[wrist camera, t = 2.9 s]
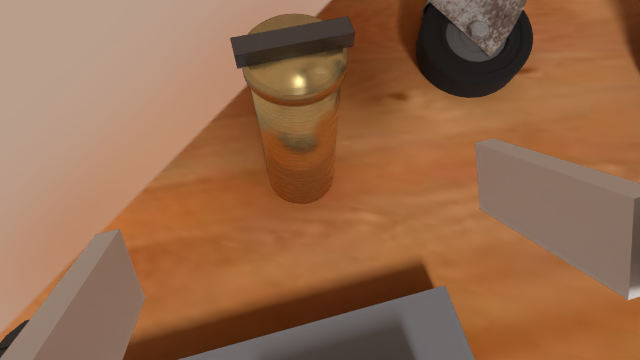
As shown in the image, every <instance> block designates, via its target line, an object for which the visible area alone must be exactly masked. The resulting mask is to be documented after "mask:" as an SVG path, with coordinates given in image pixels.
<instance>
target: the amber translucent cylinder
mask: <svg viewBox="0 0 640 360" xmlns="http://www.w3.org/2000/svg"><path fill="white" fill-rule="evenodd" d="M354 35H355V32H354V29H353V27H352V25H351V22H350V20H349V17H348V16H347V17H341V18H336V19H331V20H325V21H323V20H321V19H319V18H316V17H313V16H309V15H304V14H285V15H280V16H276V17H273V18H270V19H268V20H266V21H264V22H262V23H260V24H259V25H257V26H256V27H255V28H254V29H252V30H251V31H250V32H249V34H248V35H243V36H238V37H233V38H230V39H231V43H232V48H233V52H234V56H235V61H236V65H237V68H242V70H243V75H244V78H245V80H246V82H247V84H248V86H249V87H250V88H251V91H252V96H253V101H254V105H255V110H256V115H257V120H258V124H259V129H260V134H261V138H262V143H263V148H264V153H265V157H266V162H267V167H268V172H269V176H270V181H271V185H272V187H273V189H274V191H275V192H276V193H277V194H278V195H279V196H280V197H281V198H283V199H284V200H286V201H288V202H291V203H296V204H306V203H311V202H314V201H316V200H318V199H320V198H321V197H323V196H324V195H325V194H326V193H327V191H328V190H329V188H330V187H331V184H332V180H333V171H334V159H335V147H336V135H337V123H338V111H339V99H340V87H341V83H342V81H343V79H344V77H345V74H346V67H347V56H348V52H347V47H352V46H353V44H354Z"/></svg>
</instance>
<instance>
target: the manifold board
mask: <svg viewBox="0 0 640 360" xmlns="http://www.w3.org/2000/svg"><path fill="white" fill-rule="evenodd" d="M179 360H475V359H474V356H473V354H472V351H471V349H470V346H469V344H468V341H467V339H466V336H465V334H464V331H463V329H462V326H461V324H460V322H459V319H458V317H457V314H456V312H455V309H454V307H453V304H452V302H451V299H450V297H449V294H448V292H447V289H446V287H445V285H444V286H441V287H437V288H434V289H430V290H426V291H423V292H419V293H416V294H412V295H408V296H405V297H401V298H398V299H394V300H390V301H387V302H383V303H380V304H376V305H373V306H369V307H365V308H362V309H358V310H355V311H351V312H347V313H344V314H340V315H337V316H333V317H329V318H326V319H322V320H319V321H315V322H311V323H308V324H304V325H301V326H297V327H294V328H290V329H286V330H283V331H279V332H276V333H272V334H268V335H265V336H261V337H258V338H254V339H250V340H247V341H243V342H240V343H236V344H232V345H229V346H225V347H222V348H218V349H214V350H211V351H207V352H204V353H200V354H197V355H193V356H189V357H186V358H182V359H179Z"/></svg>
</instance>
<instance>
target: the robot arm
mask: <svg viewBox="0 0 640 360" xmlns="http://www.w3.org/2000/svg"><path fill="white" fill-rule="evenodd" d="M475 147H476V162H477V176H478V191H479V206H480V210H482V211H484V212H485V213H487V214H489V215H490V216H492V217H493V218H495V219H497V220H498V221H500V222H502V223H503V224H505V225H507V226H508V227H510V228H511V229H513V230H515V231H516V232H518V233H520V234H521V235H523V236H525V237H526V238H528V239H529V240H531V241H533V242H534V243H536V244H538V245H539V246H541V247H543V248H544V249H546V250H547V251H549V252H551V253H552V254H554V255H556V256H557V257H559V258H560V259H562V260H564V261H565V262H567V263H569V264H570V265H572V266H574V267H575V268H577V269H578V270H580V271H582V272H583V273H585V274H587V275H588V276H590V277H592V278H593V279H595V280H596V281H598V282H600V283H601V284H603V285H605V286H606V287H608V288H609V289H611V290H613V291H614V292H616V293H618V294H619V295H621V296H623V297H624V298H626V299H627V300H630V299H633V298H636V297H640V184H639V183H636V182H633V181H630V180H627V179H623V178H620V177H617V176H614V175H610V174H607V173H604V172H601V171H597V170H594V169H591V168H588V167H584V166H581V165H578V164H575V163H571V162H568V161H565V160H562V159H559V158H555V157H552V156H549V155H546V154H542V153H539V152H536V151H533V150H529V149H526V148H523V147H520V146H516V145H513V144H510V143H507V142H503V141H500V140H497V139H494V138H493V139H489V140H485V141H481V142H477V143H475ZM144 300H145V296H144V294H143V291H142V288H141V285H140V283H139V280H138V277H137V275H136V272H135V269H134V267H133V264H132V261H131V259H130V256H129V253H128V250H127V248H126V245H125V242H124V240H123V237H122V234H121V232H120V229H117V230H113V231H109V232H105V233H101V234H96V235H95V237H94V238H93V239H92V240H91V242H90V243H89V244H88V246H87V247H86V248H85V249H84V251H83V252H82V253H81V255H80V256H79V257H78V258H77V260H76V261H75V262H74V264H73V265H72V266H71V267H70V269H69V270H68V271H67V273H66V274H65V275H64V277H63V278H62V279H61V280H60V282H59V283H58V284H57V286H56V287H55V288H54V289H53V291H52V292H51V293H50V295H49V296H48V297H47V298H46V300H45V301H44V302H43V304H42V305H41V306H40V308H39V309H38V310H37V311H36V313H35V314H34V315H33V317H32V318H31V319H30V320H27V321H24V322H23V323H22V324H20V325H19V326H18V327H17V328H15V329H14V330H13V331H11V332H10V333H9V334H8V335H6V337H5V338H4V339H3V340H2V341H1V343H0V360H123V357H124V354H125V352H126V349H127V346H128V344H129V341H130V338H131V335H132V333H133V330H134V327H135V324H136V322H137V319H138V316H139V313H140V311H141V308H142V305H143V302H144Z"/></svg>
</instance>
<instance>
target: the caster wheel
mask: <svg viewBox="0 0 640 360" xmlns="http://www.w3.org/2000/svg"><path fill="white" fill-rule="evenodd" d="M526 1H527V0H426V3H425V5H424V7H423V9H422V16H421V18H422V24H421V27H420V30H419V33H418V37H417V41H416V56H417V61H418V63H419V66H420V68H421V70H422V72H423V73H424V75H425V76H426V78H427V79H428V80H429V81H430V82H431V83H432V84H434V85H435V86H436V87H438V88H439V89H441V90H443V91H445V92H447V93H449V94H452V95H455V96H459V97H466V98H471V97H482V96H486V95H489V94H491V93H494V92H496V91H498V90H499V89H501V88H502V87H504V86H505V85H506V84H507V83H508V82H509V81H510V80H511V79H512V78H513V77H514V76H515V75H516V74H517V73H518V71H519V70H520V69H521V68H522V67H523V65H524V64H525V62H526V61H527V59H528V57H529V55H530V52H531V49H532V45H533V32H532V27H531V24H530V21H529V19H528V17H527V15H526V13H525V11H524V10H523V8H524V6H525V3H526Z"/></svg>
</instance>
